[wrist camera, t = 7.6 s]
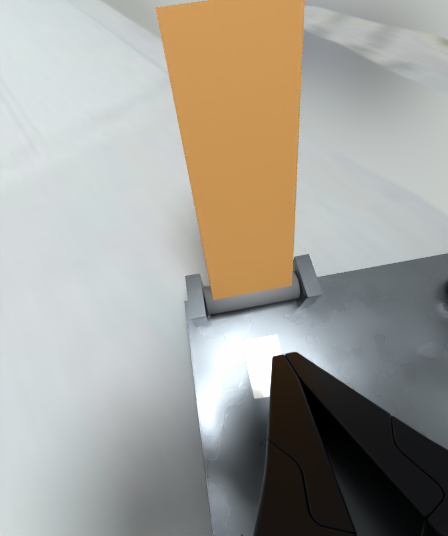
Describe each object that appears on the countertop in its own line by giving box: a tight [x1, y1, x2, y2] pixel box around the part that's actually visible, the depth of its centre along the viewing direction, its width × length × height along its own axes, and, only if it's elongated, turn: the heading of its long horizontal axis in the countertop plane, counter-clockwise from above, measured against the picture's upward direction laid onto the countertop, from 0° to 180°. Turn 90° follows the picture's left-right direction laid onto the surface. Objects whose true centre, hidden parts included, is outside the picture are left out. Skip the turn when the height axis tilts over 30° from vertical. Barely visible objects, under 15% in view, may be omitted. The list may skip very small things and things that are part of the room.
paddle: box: [156, 0, 305, 315], centre depth 12 cm, size 2×5×13 cm
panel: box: [185, 254, 448, 536], centre depth 12 cm, size 21×22×4 cm
